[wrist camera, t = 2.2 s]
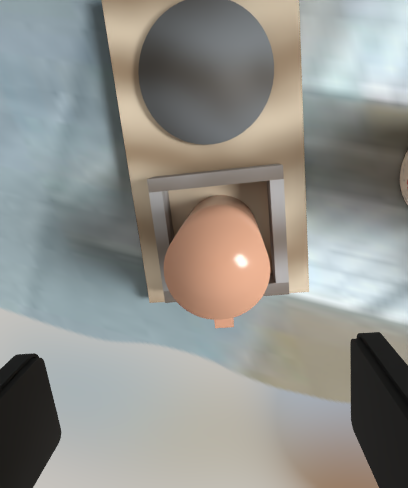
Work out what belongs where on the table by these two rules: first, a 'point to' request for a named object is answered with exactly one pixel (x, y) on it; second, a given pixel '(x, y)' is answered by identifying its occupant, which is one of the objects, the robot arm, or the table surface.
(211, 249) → the peach rounded peg
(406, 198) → the teacup with lid
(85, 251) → the table surface
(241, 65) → the board
